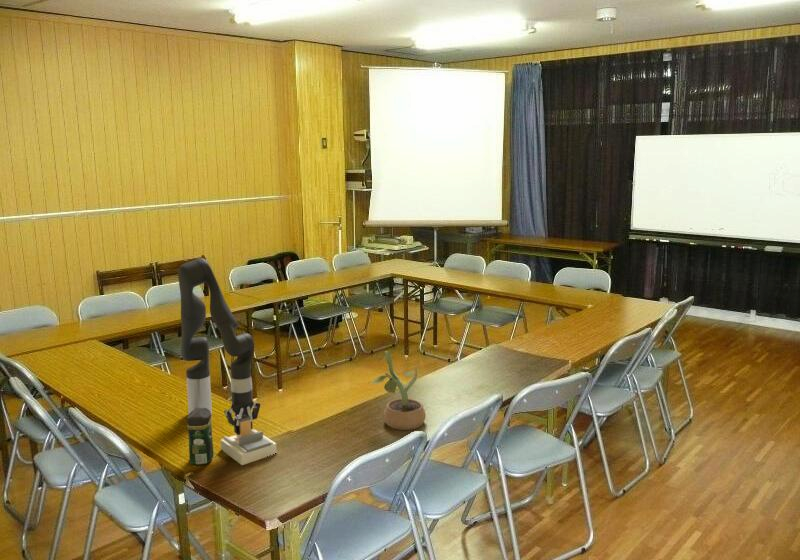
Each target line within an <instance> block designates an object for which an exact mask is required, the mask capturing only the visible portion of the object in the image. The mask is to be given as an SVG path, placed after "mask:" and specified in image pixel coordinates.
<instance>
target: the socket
mask: <svg viewBox="0 0 800 560" xmlns="http://www.w3.org/2000/svg"><path fill="white" fill-rule="evenodd" d="M255 432H258V430H256V429H253V428H252V430H251V434H252V433H255ZM263 438H264V439H266V440H267V441H269V442H270V445H268V446H265V447H262V448H258V449H255V450H252V451H249V452H247V450H245V449H244V448H242V447H241V446H240V445H239V438H238V437H236V434H235V435H231V436H227V435H224V436H223V438H222V439H220V449H221V451H222V450H223V451H222V452H224V453H225V454H226V455H227V456H229V457H230V458H232V459H233V460H234V461H236V463H238V464H240V465H241V466H244V465H247V464H250V463H254V462H256V461H259V460H261V459H264V458H265V459H266V458H268V457H271V456H274V455H276V454H275V453H277V454H278V452H277V451H278V450H277V442H275V441H273V440H272V439H271V438H268V437H267V436H265V435H264V434H263ZM273 454H274V455H273ZM270 455H271V456H270ZM267 456H268V457H267Z"/></svg>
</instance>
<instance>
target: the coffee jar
mask: <svg viewBox="0 0 800 560" xmlns="http://www.w3.org/2000/svg"><path fill="white" fill-rule="evenodd" d="M186 426H187V434H188V435H187V436H188V452H189V453H188V454H189V462H190V464H192V465H195V466H202V465H206V464H209V463H211V461H212V460H213V458H214V444H213V442H214V441H213V427H212V415H211V412H210V411H209V410H208V409H207V408H195V409H194V410H193V411H191V412H190V413H189V412H188V414H187V417H186Z"/></svg>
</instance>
